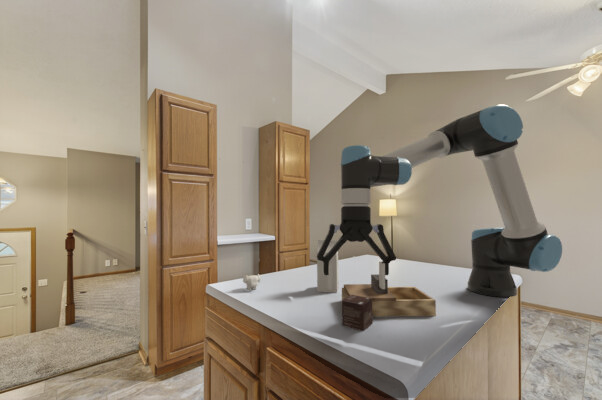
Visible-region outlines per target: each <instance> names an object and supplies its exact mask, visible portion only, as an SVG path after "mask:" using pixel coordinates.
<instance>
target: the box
mask: <svg viewBox="0 0 602 400" xmlns="http://www.w3.org/2000/svg"><path fill="white" fill-rule="evenodd" d="M372 325H373V316H372V298H367V297H362V296H356V295H351V296H349V297H347V298H345V299H343V300H342V299H341V326H343V327H345V328H349V329H353V330H358V331H361V332H365V331H366V330H368V328H369V327H371V326H372Z"/></svg>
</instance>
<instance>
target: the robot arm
mask: <svg viewBox="0 0 602 400" xmlns="http://www.w3.org/2000/svg"><path fill="white" fill-rule="evenodd" d="M523 128H524V125H523V121H522V118H521V116H520V114H519V113H518V112H517V111H516V110H515V109H514V108H513V107H510V106H509V105H507V104H497V105H492V106H488V107H485V108H483V109H481V110H478V111H475V112H473V113H469V114H467V115H465V116H462V117H459V118H457V119H455V120H453V121H451V122H449V123H447V124H446V125H444V126H443V127H440V128H438V129H435V131H432V132H430V133H428V135H427V137H425V138H422V139H419V140H418V141H415V142H412V143H410V144H408V145H405V146H402V147H400V148H398V149H396V150H393V151H391V152H388V153H385V154H383V155H381V156H378V155H372V153H371V148H370V147H369V146H366V145H360V144H359V145H358V144H357V145H355V144H354V145H347V146H345V147H344V148H343V149H342V150H341V159H340V168H341V169H340V172H341V174H340V176H341V177H340V178H341V184H340V185H341V187H340V188H341V191H340V193H341V199H340V201H341V202H340V203H341V205H343V206H342V207H341V208H340V212H341V213H340V218H341V219H340V224H338V225H337V224H334V223H330V224H329V226H328V232H327V234H326V236H325V238H324V242H323V244H322V246H321V248H320V250H319V252H318V254H317V253H316V260H317V259H318V260H320V261H323V263H324V274H325V275H328V288H329V289H332V263H331V262H330V260H331V258H332V257H333V256H334V255H335V254H336V252H337V251H338V252H339V250H340V249H341V248H342V246H343V245H344V244H345V243H347V241H348V242H352V243H354V242H359V243H361V242H362V243H363V242H364V241H365V242H366V243H367V244H368V246H369V247H370V248H371V249H372V250H373V252H375V254H377V256H378V257H379V258H380V260H381V261H379V262H378V275H379V287H380V288H381V289H385V278H386V276H389V275H390V271H389V270H390V267H389V266H390V265H389V264H390V263H391V262H392V261H396V260H397V256H396V254H395V252H394V250H393V248H392V247H391V245H390V242H389V240H388V239H387V237H386V234H385V229H384V225H383V224H380V223H379V224H378V223H377V224H374V225H372V223H371V221H372V220H371V218H372V217H371V215H372V214H371V212H372V211H371V210H372V209H371V207H370V206H369V205H371V203H372V202H371V188H373V187H382V186H391V185H392V186H401V185H406V184H408V182H409V181H410V180H411V177H412V173H413V170H412V169H413V168H415V167H417V166H420V165H421V164H424V163H427V162H429V161H431V160H433V159H435V158H439V159H442V158H445V157H447V156H450V155H454V154H459V153H460V154H461V153H464V152H470V151H471V152H472V151H473V154H474V157H475V158H476V159H478V160H481V162H482V164H483V166H484V169H485V172H486V175H487V178H488V182H489V184H490V188H491V191H492V194H493V196H494V199H495V201H496V202H495V203H496V205H497V208H498V211H499V214H500V217H501V219H502V222H503V226H504V227H495V228H494V227H493V228H492V227H491V228H479V229H474V230H473V231H472V232H471V239H470V241H471V243H470V244H471V261H472V262H471V263H472V264H471V265H472V269H471V273H470V274H469V278H468V281H467V289H468V291H471V292H473V293H476V294H479V295H484V296H489V297H500V298H502V297H503V298H509V297H515V296H517V295H518V288H517V286H516V283H515V280H514V277H513V275H512V273H511V267H514V268H517V269H523V270H530V271H531V272H542V273H546V272H550V271H552V270H554V269H555V268H556V267H557V266H558V265H559V263H560V260H561V258H562V254H563V245H562V241H561V239H560V238H559V237H558V236H556V235H554V234H551V233H550V234H548V230H547V228H546V225H544V224H543V223H541V222H539V221H538V220H537V217H536V213H535V210H534V207H533V205H532V202H531V198H530V195H529V192H528V190H527V187H526V183H525V180H524V177H523V174H522V171H521V168H520V166H519V161H518V158H517V155H516V153H515V150H516V148H517V147H518V146H519V142H518V139H520V137H521V136H522V134H523V133H524V132H523ZM338 231H340V233H341V234H342V235H341V236H340V237H339V238H338V240H337V243H336V244H335V245H334V246H333V247H332V249H331V250H330V251H329V252H328V253H327V254H326V256H323V255H324V253H325V251H326V249H327V247H328V245H329V243H330V241H331V240H332V239H333V238H334V236H335V235H334V234H336V233H337V232H338ZM372 231H373V232H374V233H375V234H377V237H378V240H379V241H380V243H381V246H382V247H383V249H384V251H385V253H386V254H385V253H384V252H383V250H381V249H380V247H379V245H377V243H375V241H374V239H373V238H372V237H371V236H370V235H371V233H372Z"/></svg>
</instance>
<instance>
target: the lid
mask: <svg viewBox="0 0 602 400" xmlns="http://www.w3.org/2000/svg"><path fill="white" fill-rule="evenodd" d="M370 280H371V281H370V283H369V284H368V283H367V284H366V283H363V284H361V283H359V284H358V283H357V284H349V283H348V284H343V288H345V290H346V292H347V293H348V295H349V296H351V295H356V296H362V297H367V298H372V301H396V297H395V296H394V295H392V294H391V293H390V292H389V291H388V287H389V286H388V285H389V284H388V283H389V282H388V279H387V277H385V289H381V288H380V287H379V274H370Z"/></svg>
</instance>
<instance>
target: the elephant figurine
mask: <svg viewBox="0 0 602 400" xmlns="http://www.w3.org/2000/svg"><path fill="white" fill-rule="evenodd" d="M242 282H243V283H244V284H246V289H247V290H248V291H252V290H253V291H254V290H257V287H258V283H260V282H261V276H260V274H259V273H257V275H256V274H254V275H253V274H252V275H247V274H245V275H243V278H242Z"/></svg>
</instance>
